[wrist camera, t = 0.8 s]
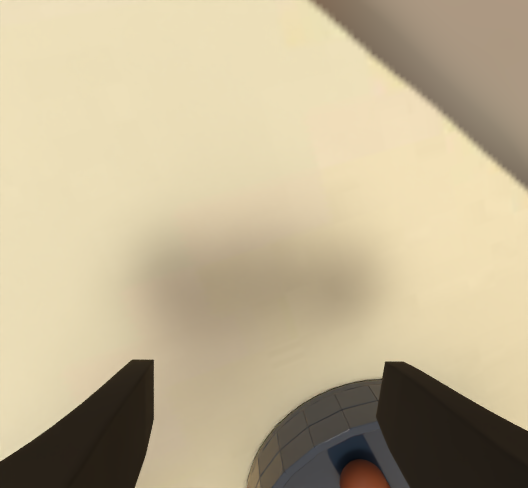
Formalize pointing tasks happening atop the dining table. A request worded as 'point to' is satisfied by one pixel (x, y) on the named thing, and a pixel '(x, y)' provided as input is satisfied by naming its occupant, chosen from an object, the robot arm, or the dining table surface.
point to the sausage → (362, 475)
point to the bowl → (326, 441)
